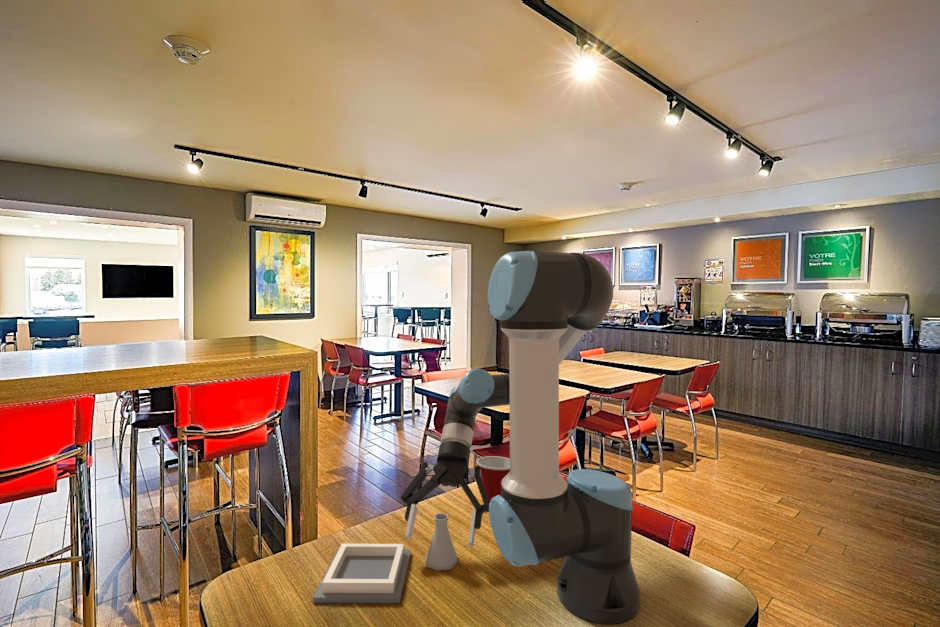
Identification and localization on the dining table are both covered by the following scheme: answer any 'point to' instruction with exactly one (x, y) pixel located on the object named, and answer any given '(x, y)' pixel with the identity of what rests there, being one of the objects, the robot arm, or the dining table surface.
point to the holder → (365, 574)
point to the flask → (441, 546)
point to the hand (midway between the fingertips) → (438, 541)
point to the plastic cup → (493, 473)
